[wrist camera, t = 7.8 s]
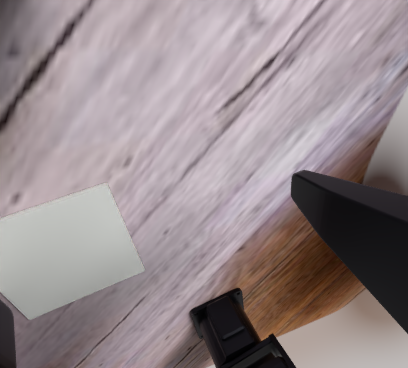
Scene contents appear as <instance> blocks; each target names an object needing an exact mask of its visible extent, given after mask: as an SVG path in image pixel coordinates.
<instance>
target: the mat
mask: <svg viewBox="0 0 408 368" xmlns="http://www.w3.org/2000/svg"><path fill="white" fill-rule="evenodd" d="M144 271H145V269H144V266H143V264H142V262H141V259H140V257H139V255H138V252H137V250H136V248H135V246H134V243H133V241H132V239H131V236H130V234H129V232H128V229H127V227H126V225H125V223H124V220H123V218H122V216H121V213H120V211H119V209H118V207H117V204H116V202H115V200H114V197H113V195H112V193H111V191H110V188H109V186H108V184H107V182H106V183H103V184H100V185H97V186H94V187H91V188H88V189H85V190H82V191H79V192H76V193H73V194H70V195H67V196H64V197H61V198H58V199H55V200H52V201H50V202H47V203H44V204H41V205H38V206H35V207H32V208H29V209H26V210H23V211H20V212H17V213H14V214H11V215H8V216H5V217H2V218H0V292H1V293H2V294H3V295H4V296H5V297H6V298H7V299H8V300H9V301H10V302H11V303H12V304H13V305H14V306H15V307H16V308H17V309H18V310H19V311H20V312H21V313H22V314H24V315H25V316H26V317H27V318H28V319H29V320H31V319H33V318H36V317H38V316H41V315H43V314H45V313H48V312H50V311H52V310H55V309H57V308H59V307H62V306H64V305H66V304H69V303H71V302H73V301H76V300H78V299H81V298H83V297H85V296H88V295H90V294H92V293H95V292H97V291H99V290H102V289H104V288H106V287H109V286H111V285H113V284H116V283H118V282H120V281H123V280H125V279H128V278H130V277H132V276H135V275H137V274H139V273H142V272H144Z"/></svg>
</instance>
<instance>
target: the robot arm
mask: <svg viewBox="0 0 408 368" xmlns="http://www.w3.org/2000/svg"><path fill="white" fill-rule="evenodd" d="M291 197H292V199H293V201H294V202H295V203H296V205H297V206H298V208H299V209H300V210H301V212H302V213H303V214H304V216H305V217H306V219H307V220H308V221H309V223H310V224H311V225H312V227H313V228H314V230H315V231H316V232H317V233H318V235H319V236H320V237H321V238H322V239H323V241H324V242H325V243H326V244H327V245H328V246H329V247H330V248H331V249H332V251H333V252H334V253H335V254H336V255H337V256H338V257H339V258H340V259H341V261H342V262H343V263H344V264H345V265H346V266H347V267H348V268H349V269H350V270H351V272H352V273H353V274H354V275H355V276H356V277H357V278H358V279H359V280H360V282H361V283H362V284H363V285H364V286H365V287H366V288H367V289H368V290H369V291H370V293H371V294H372V295H373V296H374V297H375V298H376V299H377V300H378V301H379V303H380V304H381V305H382V306H383V307H384V308H385V309H386V310H387V311H388V313H389V314H390V315H391V316H392V317H393V318H394V319H395V320H396V321H397V323H398V324H399V325H400V326H401V327H402V328H403V329H404V330H405V331H406V332H407V334H408V196H406V195H402V194H398V193H394V192H390V191H386V190H382V189H378V188H374V187H370V186H366V185H363V184H359V183H355V182H351V181H347V180H343V179H339V178H335V177H331V176H327V175H323V174H319V173H315V172H311V171H307V170H302V171H299V172H297V173H294V174H293V176H292V181H291ZM191 315H192V318H193V321H194V324H195V327H196V330H197V333H198V336H199V338H200V339H202V338H204V340H205V342H206V345H207V347H208V349H209V352H210V354H211V357H212V359H213V362H214V364H215V366H216V368H296V367H295V365H294V364H293V362H292V361H291V359H290V358H289V356H288V355H287V353H286V352H285V350H284V349H283V348H282V346H281V345H280V343H279V342H278V340H277V339H276V337H275V336H274V334H273V333H272V334H271V335H269V337H268V338H266V339H264V340H263V341H261V339H260V338H259V336H258V334H257V332H256V331H255V329H254V327H253V325H252V324H251V322H250V320H249V318H248V317H247V315H246V313H245V312H244V306H243V296H242V291H241V289H240V288H237V289H235V290H233V291H231V292H229V293H226V294H224V295H222V296H220V297H218V298H216V299H214V300H212V301H210V302H208V303H206V304H203V305H201V306H199V307H197V308H195V309H193V310H192V311H191ZM0 368H16V351H15V335H14V319H13V314H12V311H11V310H10V308H9V307H8V306H7V305H6V304H5V303H3V302H2V301H1V300H0Z"/></svg>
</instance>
